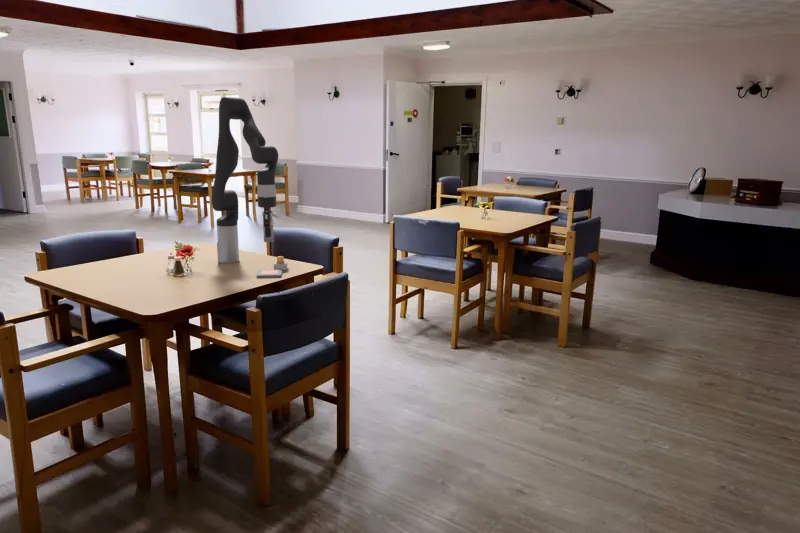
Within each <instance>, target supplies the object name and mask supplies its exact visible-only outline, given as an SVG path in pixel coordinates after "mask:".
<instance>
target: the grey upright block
mask: <svg viewBox="0 0 800 533" xmlns="http://www.w3.org/2000/svg"><path fill="white" fill-rule="evenodd" d="M268 224H269V223H266V225H268ZM262 228H263V242H264V243H273V242H274V241H275V240H274V239H275V237H274V219H272V222H271V228H270V229H271V237H265V228H264V222H263V221H262Z"/></svg>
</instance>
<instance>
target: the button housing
mask: <svg viewBox="0 0 800 533" xmlns="http://www.w3.org/2000/svg"><path fill="white" fill-rule="evenodd" d="M273 270H287V271H288V261H287V260H284V263H280V264H277V260H275V261H274V263H273Z"/></svg>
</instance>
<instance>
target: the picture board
mask: <svg viewBox="0 0 800 533" xmlns="http://www.w3.org/2000/svg"><path fill="white" fill-rule="evenodd" d="M282 275H283V271H282V270H274V269H258V271H257V274H256V279H261V278H262V279H264V278H265V279H267V278H269V277H275V278H282ZM269 279H270V278H269Z"/></svg>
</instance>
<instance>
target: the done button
mask: <svg viewBox="0 0 800 533" xmlns="http://www.w3.org/2000/svg"><path fill="white" fill-rule="evenodd" d="M284 257H285V256H282V255H279V256H276V261H277V264H280V263H284V261H285V260H284V259H285V258H284Z"/></svg>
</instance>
